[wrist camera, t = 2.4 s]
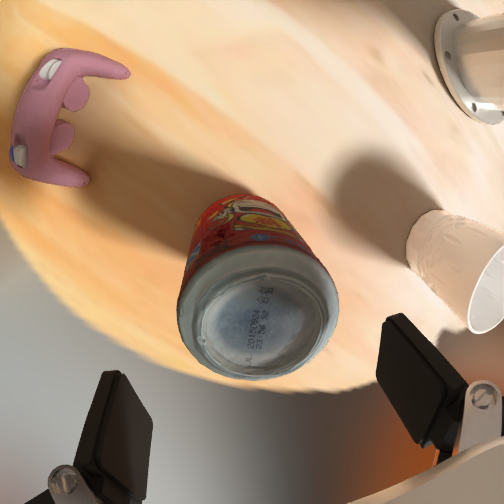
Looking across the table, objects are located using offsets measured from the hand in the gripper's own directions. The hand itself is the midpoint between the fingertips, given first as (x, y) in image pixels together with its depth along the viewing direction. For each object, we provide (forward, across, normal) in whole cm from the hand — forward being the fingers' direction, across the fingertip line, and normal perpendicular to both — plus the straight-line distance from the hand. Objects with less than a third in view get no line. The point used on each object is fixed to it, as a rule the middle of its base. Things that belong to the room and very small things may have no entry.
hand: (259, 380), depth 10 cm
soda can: (+15, -1, 0) cm, 15 cm away
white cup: (+14, -19, +4) cm, 24 cm away
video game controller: (+15, +10, -12) cm, 21 cm away
